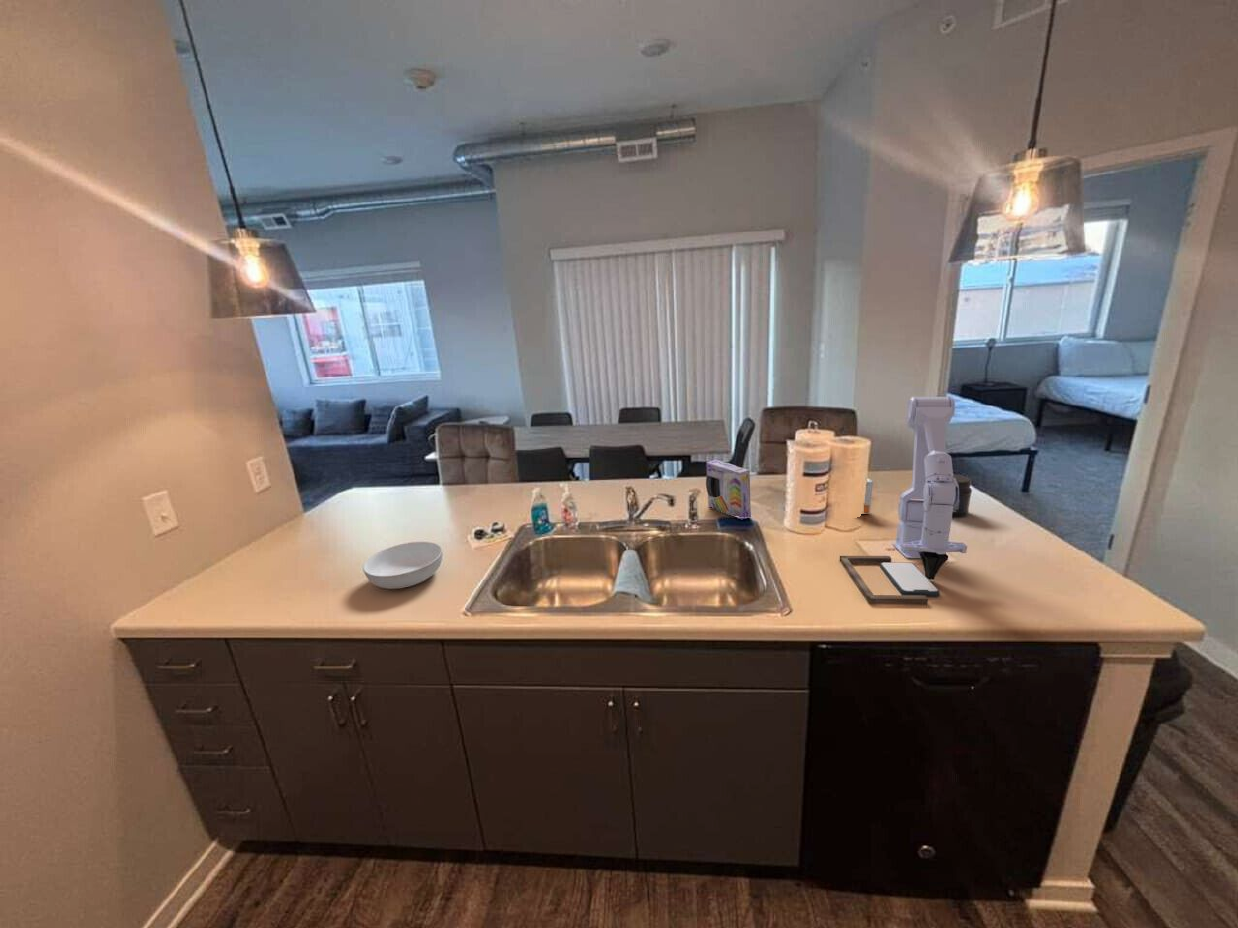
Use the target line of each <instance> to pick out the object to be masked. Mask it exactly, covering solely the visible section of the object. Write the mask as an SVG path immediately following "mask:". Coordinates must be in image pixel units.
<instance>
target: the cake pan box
mask: <svg viewBox="0 0 1238 928" xmlns="http://www.w3.org/2000/svg"><path fill="white" fill-rule="evenodd" d="M705 465H706V478H705V488H706V492H707V502H708V503H707V504H708V506H709V507H708V508H710V507H712V508H711V509H713V508H714V509H713V510H715V509H716V510H715V511H717V510H718V511H717V512H720V511H721V512H720V513H722V512H723V513H722V514H724V513H726V514H725V515H727V514H729V515H733V516H739V517H752V516H751V515H752V513H751V477H750V475H751V474H750V473H751V472H750V469H748V468H747V469H746V468H743V467H740V466H737V465H735V464H732V463H729V462H724V461H721V460H718V459H713V460H711V461H707V462H706V464H705ZM729 515H728V516H729Z"/></svg>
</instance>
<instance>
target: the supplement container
mask: <svg viewBox="0 0 1238 928" xmlns="http://www.w3.org/2000/svg"><path fill="white" fill-rule="evenodd" d="M953 478H956V482H957V483H958V486H959V500H958V503H957V505H955V506H954V505H952V506H953V512H952V518H962V517H964V516H967V514H969V511H970V510H969V509H970V503H971V497H972V496H971V495H972V493H973V490H972V487H971V486H972V479H971V478H970V477H968V476H964V475H960V474H954V473H953Z"/></svg>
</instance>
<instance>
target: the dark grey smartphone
mask: <svg viewBox="0 0 1238 928" xmlns="http://www.w3.org/2000/svg"><path fill="white" fill-rule="evenodd" d="M879 568H880V569H881V571H882V572H883V573H884V574H885V576H886V577H887V579H888V580H889V581H890V582H891V583H892V585H893V586H894V587H895V588H896V590H897V591H898V592H899V593H900V595H925V596H926V597H927V598H929V597H930V598H931V597H934V598H937V597H939V596H940V593H941V591H940V590H939V588H937V586H936V585H935V584H934V583H933V582H932V581H931V580H929V579H928V578H927V577H926V576H925V573H923V572H922V570H920V569H919V568H918V567H917V566H916V565H915V563H912V562H902V561H901V562H896V561H894V562H893V561H891V562H882V563H879Z"/></svg>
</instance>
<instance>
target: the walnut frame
mask: <svg viewBox="0 0 1238 928" xmlns="http://www.w3.org/2000/svg"><path fill="white" fill-rule="evenodd" d="M838 560H839V562H840V564H841V565H842V567H843V568H844V570H845V572H847V574H848V576H849V577H850V578H851V580H852V581H853V582H854V584H855V585H856V588H857V589H858V590H859V591H860V593H861V594H862V596H863V598H864V599H865V600H866V602H867V603H868V604H869V605H924V606H925V605H928V604H929V597H926V596H925V595H902V594H893V595H892V594H874V593H873V592H872V590H871V588H869V587H868V585H867V583H866V582H865V581H864V579H863V578H862V577H861V575H860V574H859V572H858V571H857V569H855V567H854V566H853V564H880V563H882V562H892V556H890V555H839V559H838Z"/></svg>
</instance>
